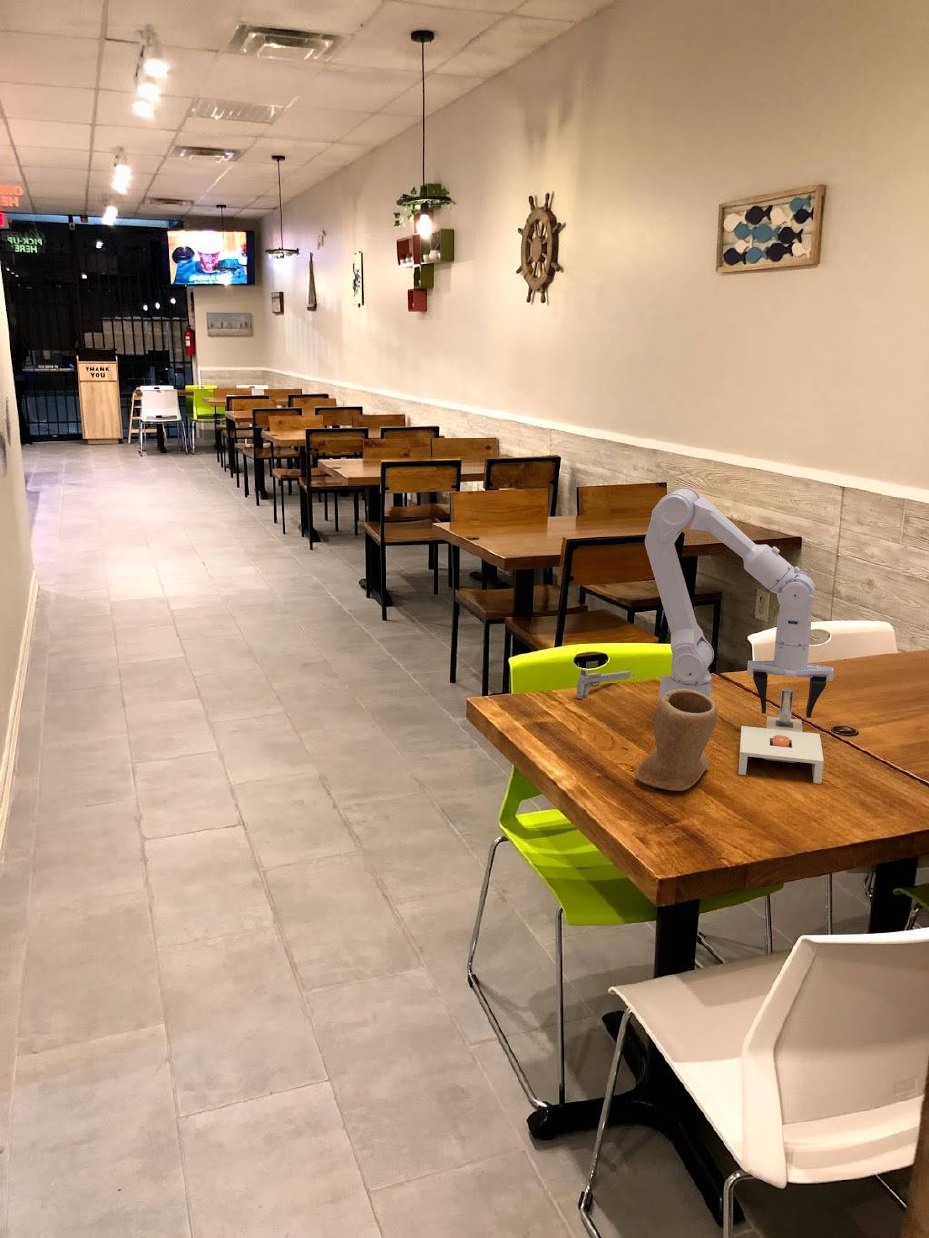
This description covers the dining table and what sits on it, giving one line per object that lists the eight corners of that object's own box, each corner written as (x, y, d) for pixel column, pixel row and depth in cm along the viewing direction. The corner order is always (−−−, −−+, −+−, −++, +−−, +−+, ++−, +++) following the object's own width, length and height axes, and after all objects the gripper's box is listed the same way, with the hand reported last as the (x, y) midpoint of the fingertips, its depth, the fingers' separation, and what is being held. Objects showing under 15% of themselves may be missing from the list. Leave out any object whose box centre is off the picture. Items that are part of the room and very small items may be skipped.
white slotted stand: (738, 774, 160) (740, 751, 159) (739, 746, 171) (741, 725, 170) (821, 783, 156) (823, 761, 155) (817, 755, 167) (819, 733, 166)
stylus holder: (766, 741, 173) (767, 728, 173) (765, 729, 179) (767, 716, 178) (801, 744, 172) (802, 731, 171) (800, 732, 177) (801, 719, 177)
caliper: (580, 701, 194) (581, 672, 192) (576, 700, 195) (577, 671, 193) (633, 676, 209) (635, 649, 207) (629, 675, 209) (630, 648, 208)
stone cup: (698, 803, 149) (704, 713, 145) (626, 786, 156) (630, 699, 152) (727, 769, 162) (734, 685, 158) (660, 754, 168) (664, 672, 164)
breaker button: (764, 759, 162) (766, 742, 161) (764, 748, 166) (766, 731, 165) (794, 763, 160) (796, 745, 159) (794, 751, 165) (795, 734, 164)
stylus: (777, 738, 175) (781, 691, 172) (777, 734, 176) (781, 687, 174) (789, 739, 174) (793, 692, 172) (788, 735, 176) (793, 689, 174)
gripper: (749, 644, 169) (743, 717, 172) (837, 651, 165) (830, 725, 168) (749, 634, 175) (744, 704, 179) (834, 640, 171) (827, 711, 175)
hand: (785, 713), depth 174 cm, fingers open, 7 cm apart
